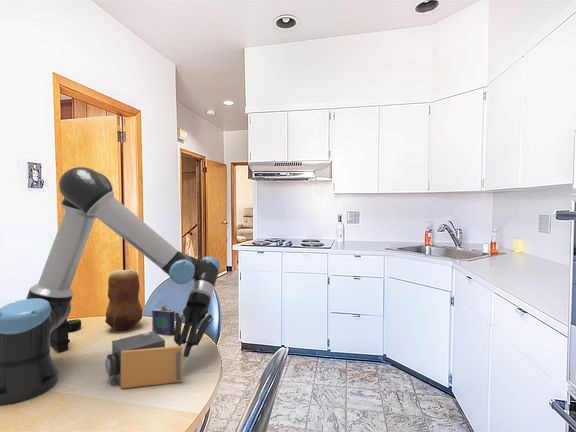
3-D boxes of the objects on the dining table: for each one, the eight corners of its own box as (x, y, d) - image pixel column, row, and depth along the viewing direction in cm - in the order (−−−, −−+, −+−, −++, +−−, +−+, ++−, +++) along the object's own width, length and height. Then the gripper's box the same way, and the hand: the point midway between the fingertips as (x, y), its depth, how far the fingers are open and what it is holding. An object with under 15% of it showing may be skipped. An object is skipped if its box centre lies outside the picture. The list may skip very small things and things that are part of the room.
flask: (150, 333, 125) (150, 305, 125) (155, 331, 128) (155, 303, 128) (172, 336, 123) (172, 307, 123) (176, 333, 126) (177, 305, 126)
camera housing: (111, 391, 84) (112, 351, 84) (102, 376, 92) (102, 340, 92) (164, 372, 94) (164, 337, 94) (152, 361, 102) (152, 328, 102)
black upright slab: (59, 351, 105) (54, 307, 109) (50, 357, 113) (45, 316, 117) (72, 347, 108) (67, 305, 112) (62, 353, 115) (57, 313, 120)
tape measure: (71, 326, 132) (71, 318, 132) (85, 327, 131) (85, 319, 131) (56, 332, 126) (56, 323, 126) (71, 333, 124) (71, 324, 124)
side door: (120, 390, 84) (120, 353, 84) (121, 386, 86) (122, 350, 86) (181, 383, 88) (181, 348, 88) (182, 379, 90) (182, 345, 90)
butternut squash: (131, 320, 140) (131, 265, 140) (148, 326, 133) (148, 268, 132) (99, 329, 129) (99, 270, 128) (115, 337, 121) (115, 273, 121)
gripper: (220, 302, 110) (202, 373, 94) (185, 301, 111) (161, 370, 95) (215, 291, 105) (195, 364, 88) (179, 290, 106) (152, 361, 90)
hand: (178, 367), depth 92 cm, fingers closed
